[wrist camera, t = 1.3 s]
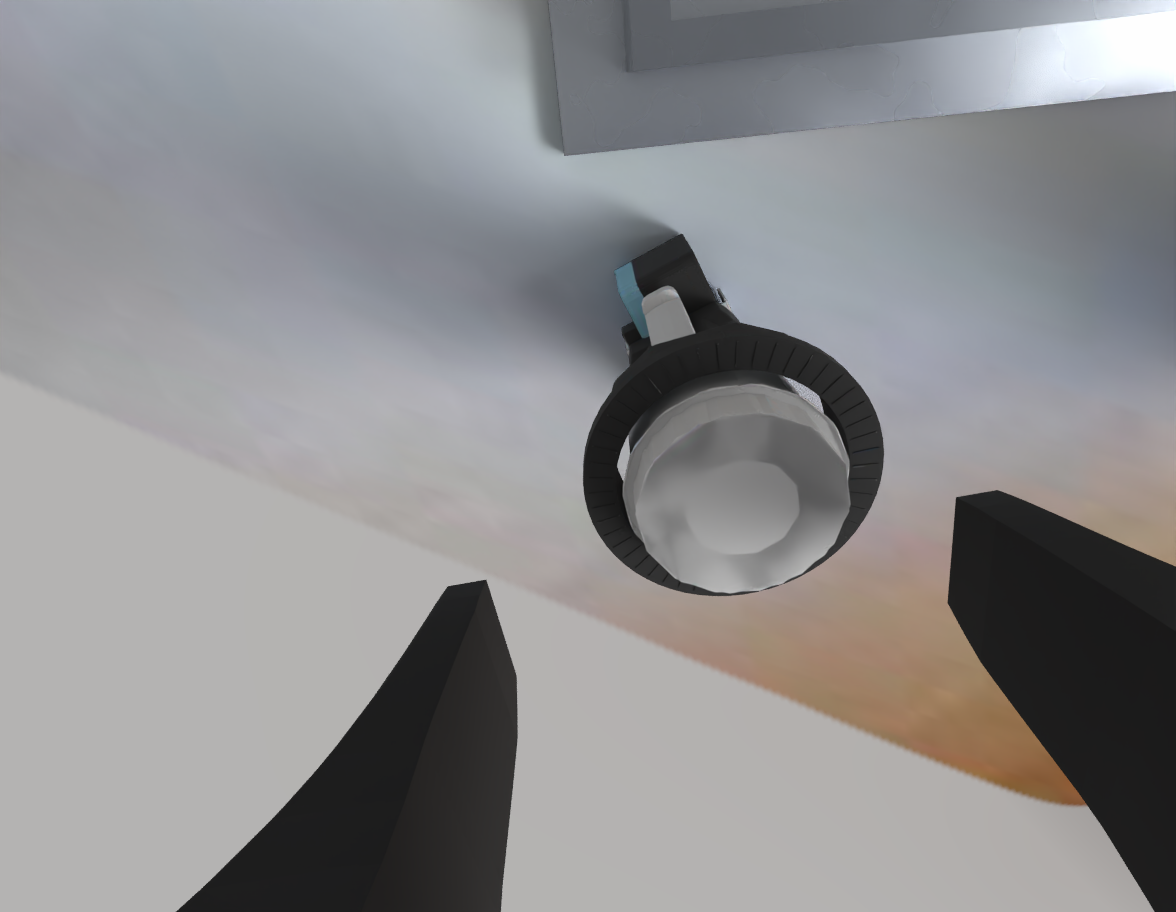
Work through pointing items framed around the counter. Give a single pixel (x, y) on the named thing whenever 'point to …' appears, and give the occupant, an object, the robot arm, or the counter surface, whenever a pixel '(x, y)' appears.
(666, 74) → the grey metal tray
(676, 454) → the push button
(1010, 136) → the counter surface
